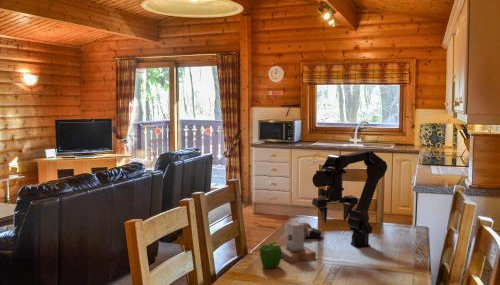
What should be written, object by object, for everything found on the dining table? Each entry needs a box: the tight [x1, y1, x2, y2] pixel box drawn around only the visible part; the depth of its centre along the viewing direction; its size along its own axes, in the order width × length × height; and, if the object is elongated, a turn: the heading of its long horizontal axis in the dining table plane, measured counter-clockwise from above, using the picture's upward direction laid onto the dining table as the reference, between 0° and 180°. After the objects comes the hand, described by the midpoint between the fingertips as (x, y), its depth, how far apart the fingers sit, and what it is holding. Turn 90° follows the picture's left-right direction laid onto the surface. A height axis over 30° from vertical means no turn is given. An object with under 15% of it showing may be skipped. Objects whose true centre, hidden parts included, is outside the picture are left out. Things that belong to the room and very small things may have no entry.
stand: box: [280, 245, 317, 264], centre depth 201 cm, size 12×12×3 cm
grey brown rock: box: [295, 221, 322, 240], centre depth 228 cm, size 7×11×10 cm
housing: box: [284, 221, 305, 253], centre depth 200 cm, size 6×6×11 cm
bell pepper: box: [259, 241, 282, 269], centre depth 189 cm, size 8×8×10 cm
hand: (334, 221), depth 206 cm, fingers open, 9 cm apart
